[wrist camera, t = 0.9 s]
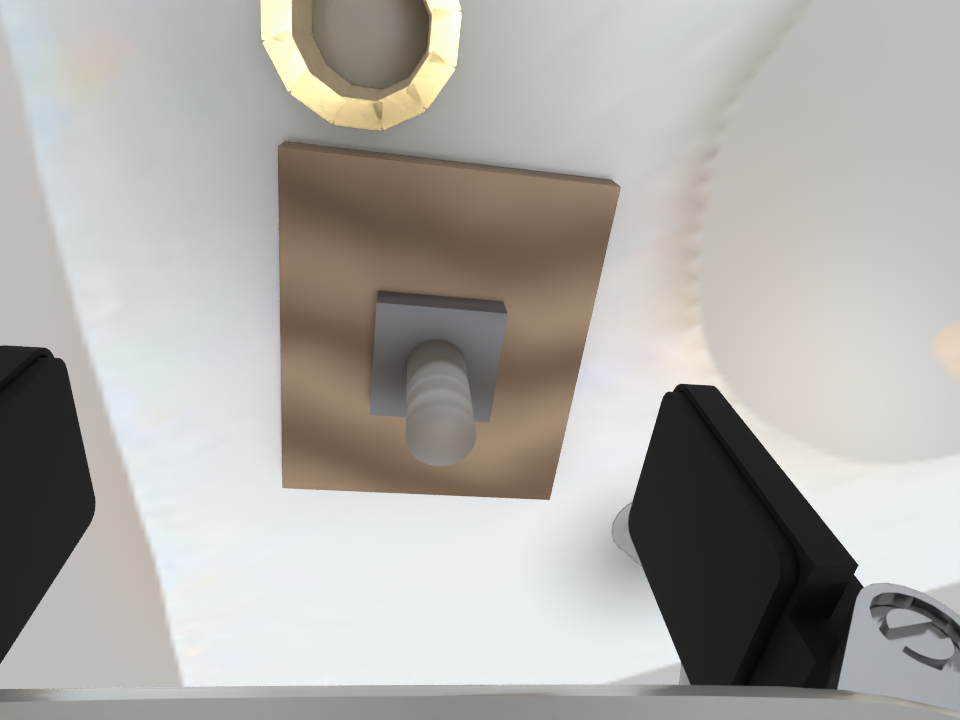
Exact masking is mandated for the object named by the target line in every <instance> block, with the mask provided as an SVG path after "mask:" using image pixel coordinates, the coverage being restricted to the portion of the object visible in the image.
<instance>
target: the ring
mask: <svg viewBox="0 0 960 720" xmlns="http://www.w3.org/2000/svg"><path fill="white" fill-rule="evenodd" d="M423 2H424V5H425V7H426V10H427V12H428V15H429V27H428V39H427V51H426V52H425V54H424V55H423V57H422V58H421V60H420V61H419V63H418V65H417V66H416V68H415V69H414V71H413V72H412V74H411V75H410V77H408V78H406V79H404V80H401V81H399V82H397V83H395V84H393V85H391V86H389V87H386V88H384V89H378V88H370V87H363V86H355V85H352V84H351V83H350V82H348V81H347V80H346V79H344V78H343V77H342V76H340V75H339V74H338V73H336V72H335V71H334V70H332V69H331V68H330V67H329V66H327V64H326V62H325V60H324V58H323V56H322V53H321V51H320V49H319V47H318V45H317V43H316V41H315V39H314V37H313V35H312V18H313V0H261V39H263V40H266V41H264V42H262V43H263V45H264V47H265V49H266V50H267V52H268V54H269V56H270V58H271V60H272V62H273V64H274V66H275V68H276V70H277V71H278V73H279V75H280V77H281V79H282V81H283V83H284V85H285V87H286V89H287V91H288V92H289V91H291V90H292V91H291V93H290V94H291V95H292V96H294V97H295V98H296V99H298V100H299V101H300V102H302V103H303V104H305V105H306V106H307V107H309V108H310V109H311V110H313V111H314V112H316V113H317V114H318V115H320V116H321V117H322V118H324V119H325V120H327V121H328V122H329V123H331V124H332V123H333V122H334V125H336V126H344V127H352V128H361V129H369V130H377V131H381V130H382V128H383V130H386V129H388V128H391V127H393V126H395V125H397V124H399V123H401V122H404V121H406V120H408V119H410V118H412V117H414V116H417V115H419V114H421V113H423V112H425V111H426V109H428V108H429V107H430V106H431V104H432V103H433V101H434V100H435V98H436V97H437V95H438V94H439V92H440V91H441V89H442V88H443V86H444V85H445V83H446V82H447V80H448V79H449V78H450V76H451V75H452V73H453V72H454V70H455V68H454V67H453V66H456V64H457V54H458V45H459V35H460V25H461V16H462V12H457V11H459V10H461V7H460V4H459V1H458V0H423ZM425 108H426V109H425Z"/></svg>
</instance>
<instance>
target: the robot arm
mask: <svg viewBox="0 0 960 720" xmlns="http://www.w3.org/2000/svg"><path fill="white" fill-rule="evenodd" d="M94 511H95V496H94V491H93V487H92V482H91V477H90V473H89V468H88V463H87V459H86V454H85V450H84V445H83V441H82V436H81V431H80V427H79V422H78V418H77V413H76V408H75V404H74V399H73V395H72V390H71V385H70V381H69V376H68V372H67V368H66V365H65V363H64V362H63V360H62V359H60V358H54V356H53V354H52V353H51V352H50V350H48V349H47V348H40V347H22V346H0V664H1V662H2V660H3V659H4V657H5V656H6V654H7V653H8V651H9V650H10V648H11V646H12V645H13V643H14V642H15V640H16V638H17V637H18V635H19V634H20V632H21V631H22V629H23V628H24V626H25V625H26V623H27V621H28V620H29V618H30V617H31V615H32V614H33V612H34V611H35V609H36V607H37V606H38V604H39V603H40V601H41V600H42V598H43V597H44V595H45V593H46V592H47V590H48V589H49V587H50V586H51V584H52V583H53V581H54V579H55V578H56V576H57V575H58V573H59V571H60V570H61V569H62V567H63V565H64V564H65V562H66V560H67V559H68V558H69V556H70V554H71V553H72V551H73V550H74V548H75V547H76V545H77V543H78V542H79V540H80V539H81V537H82V536H83V534H84V533H85V531H86V529H87V528H88V526H89V525H90V523H91V521H92V519H93V516H94ZM628 529H629V534H630V537H631V540H632V542H633V545H634V547H635V550H636V552H637V555H638V557H639V559H640V562H641V564H642V567H643V569H644V572H645V574H646V577H647V579H648V582H649V584H650V587H651V589H652V591H653V594H654V596H655V599H656V601H657V604H658V606H659V609H660V611H661V614H662V616H663V619H664V621H665V623H666V626H667V628H668V631H669V633H670V636H671V638H672V641H673V643H674V646H675V648H676V650H677V653H678V655H679V658H680V660H681V663H682V665H683V668H684V670H685V673H686V675H687V678H688V680H689V682H690V685H370V686H240V687H151V688H79V689H78V688H74V689H72V688H71V689H1V690H0V720H960V616H959V615H958V614H957V613H955V612H954V611H953V610H951V609H950V608H949V607H947V606H946V605H945V604H942V603H941V602H939V601H937V600H936V599H934V598H932V597H930V596H928V595H926V594H925V593H922V592H919V591H917V590H914V589H911V588H908V587H906V586H901V585H896V584H890V583H877V584H871V585H869V586H867V587H865V588H864V587H863V586H862V584H861V583H860V582H859V581H858V579H857V578H856V577H855V575H854V573H855V571H856V569H857V567H858V564H857V563H856V561H855V560H854V559H853V558H852V556H851V555H850V554H849V553H848V551H847V550H846V549H845V548H844V546H843V545H842V544H841V543H840V541H839V540H838V539H837V538H836V536H835V535H834V534H833V533H832V531H831V530H830V529H829V528H828V526H827V525H826V524H825V523H824V521H823V520H822V519H821V518H820V516H819V515H818V514H817V513H816V511H815V510H814V509H813V508H812V506H811V505H810V504H809V503H808V501H807V500H806V499H805V498H804V496H803V495H802V494H801V493H800V491H799V490H798V489H797V488H796V486H795V485H794V484H793V483H792V481H791V480H790V479H789V478H788V476H787V475H786V474H785V473H784V471H783V470H782V469H781V468H780V466H779V465H778V464H777V463H776V461H775V460H774V459H773V458H772V456H771V455H770V454H769V453H768V451H767V450H766V449H765V448H764V446H763V445H762V444H761V443H760V441H759V440H758V439H757V438H756V436H755V435H754V434H753V433H752V431H751V430H750V429H749V428H748V426H747V425H746V424H745V423H744V421H743V420H742V419H741V418H740V416H739V415H738V414H737V413H736V411H735V410H734V409H733V408H732V406H731V405H730V404H729V403H728V401H727V400H726V399H725V398H724V396H723V395H722V394H721V393H720V391H719V390H718V389H717V388H716V387H715V386H709V385H691V384H679V385H677V386H676V388H675V389H674V391H673V392H667V393H666V394H665V395H664V397H663V399H662V402H661V406H660V409H659V413H658V416H657V419H656V423H655V426H654V430H653V433H652V437H651V440H650V444H649V447H648V450H647V454H646V457H645V461H644V464H643V468H642V471H641V474H640V478H639V481H638V485H637V488H636V492H635V495H634V499H633V502H632V505H631V509H630V512H629V517H628Z"/></svg>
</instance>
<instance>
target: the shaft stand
mask: <svg viewBox="0 0 960 720" xmlns="http://www.w3.org/2000/svg"><path fill="white" fill-rule="evenodd" d="M278 183H279V259H280V335H281V410H282V486H283V488H293V489H316V490H339V491H361V492H384V493H407V494H430V495H452V496H475V497H498V498H520V499H543V500H550V496H551V491H552V487H553V483H554V478H555V474H556V469H557V465H558V461H559V456H560V452H561V447H562V443H563V439H564V434H565V430H566V425H567V421H568V417H569V412H570V408H571V403H572V399H573V395H574V390H575V386H576V381H577V377H578V373H579V368H580V364H581V359H582V355H583V351H584V346H585V342H586V337H587V333H588V329H589V324H590V320H591V315H592V311H593V307H594V302H595V298H596V293H597V289H598V285H599V280H600V276H601V271H602V267H603V263H604V258H605V254H606V249H607V245H608V241H609V236H610V232H611V227H612V223H613V219H614V214H615V210H616V205H617V201H618V197H619V192H620V188H621V187H620V186H619V185H617V184H616V183H615V182H614V181H612V180H607V179H599V178H590V177H582V176H573V175H565V174H556V173H548V172H539V171H531V170H522V169H514V168H505V167H497V166H488V165H480V164H471V163H463V162H454V161H446V160H437V159H429V158H420V157H412V156H403V155H395V154H386V153H378V152H369V151H361V150H352V149H344V148H335V147H327V146H318V145H310V144H301V143H293V142H283V143H282V144H281V145H280V146H279V147H278Z"/></svg>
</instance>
